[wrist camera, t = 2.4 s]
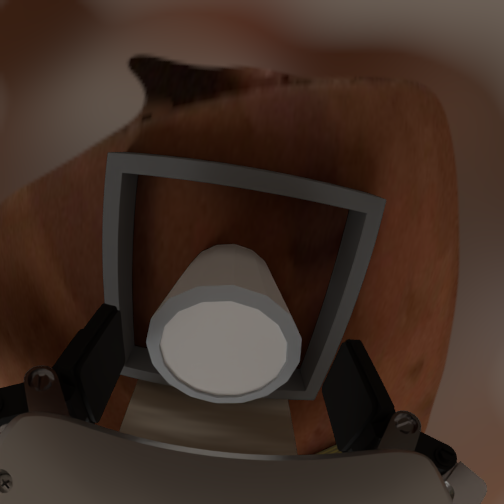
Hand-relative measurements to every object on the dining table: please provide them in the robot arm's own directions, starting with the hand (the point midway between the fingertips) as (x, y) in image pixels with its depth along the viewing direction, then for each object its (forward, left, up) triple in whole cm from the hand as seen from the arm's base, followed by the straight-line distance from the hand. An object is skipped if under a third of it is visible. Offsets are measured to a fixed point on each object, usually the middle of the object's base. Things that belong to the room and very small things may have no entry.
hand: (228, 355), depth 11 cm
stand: (-16, 0, -7) cm, 17 cm away
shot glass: (-1, 0, -8) cm, 8 cm away
